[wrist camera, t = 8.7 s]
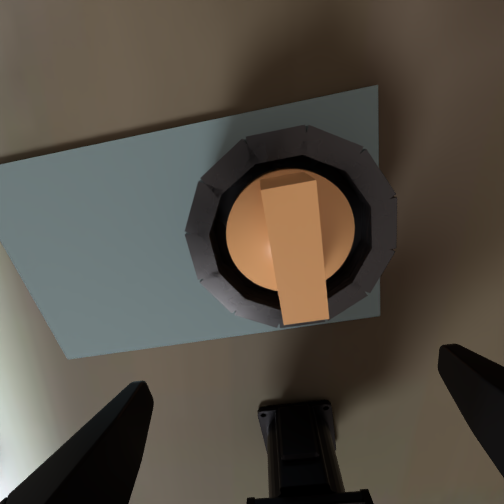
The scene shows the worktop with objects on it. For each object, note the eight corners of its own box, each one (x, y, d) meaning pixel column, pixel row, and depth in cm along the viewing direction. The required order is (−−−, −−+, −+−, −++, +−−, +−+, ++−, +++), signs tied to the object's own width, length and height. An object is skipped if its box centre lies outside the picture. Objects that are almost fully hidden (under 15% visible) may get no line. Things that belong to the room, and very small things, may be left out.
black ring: (368, 278, 19) (395, 312, 15) (222, 300, 20) (214, 337, 16) (363, 114, 15) (398, 105, 11) (183, 151, 16) (161, 153, 12)
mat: (377, 312, 20) (380, 315, 20) (70, 355, 22) (67, 359, 22) (374, 86, 15) (378, 84, 14) (-33, 172, 17) (-39, 172, 17)
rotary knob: (348, 269, 16) (380, 315, 12) (241, 286, 16) (235, 335, 12) (341, 155, 13) (379, 162, 9) (217, 179, 14) (200, 195, 10)
